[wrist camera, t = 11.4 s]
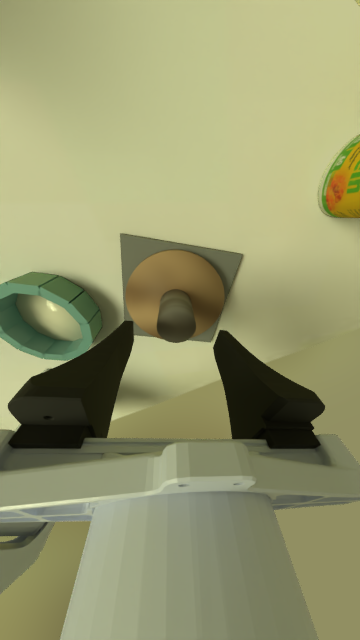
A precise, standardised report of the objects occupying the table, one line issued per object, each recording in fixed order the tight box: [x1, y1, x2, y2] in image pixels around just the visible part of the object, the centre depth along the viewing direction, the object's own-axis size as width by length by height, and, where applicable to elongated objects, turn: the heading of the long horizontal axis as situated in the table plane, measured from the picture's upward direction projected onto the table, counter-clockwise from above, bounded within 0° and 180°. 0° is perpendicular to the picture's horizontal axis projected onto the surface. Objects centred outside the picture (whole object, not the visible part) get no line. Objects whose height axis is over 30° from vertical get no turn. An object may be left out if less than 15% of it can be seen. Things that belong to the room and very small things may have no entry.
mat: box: [120, 234, 242, 342], centre depth 18 cm, size 12×12×1 cm
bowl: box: [0, 272, 102, 361], centre depth 18 cm, size 10×10×3 cm
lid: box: [125, 249, 224, 343], centre depth 16 cm, size 11×11×6 cm
